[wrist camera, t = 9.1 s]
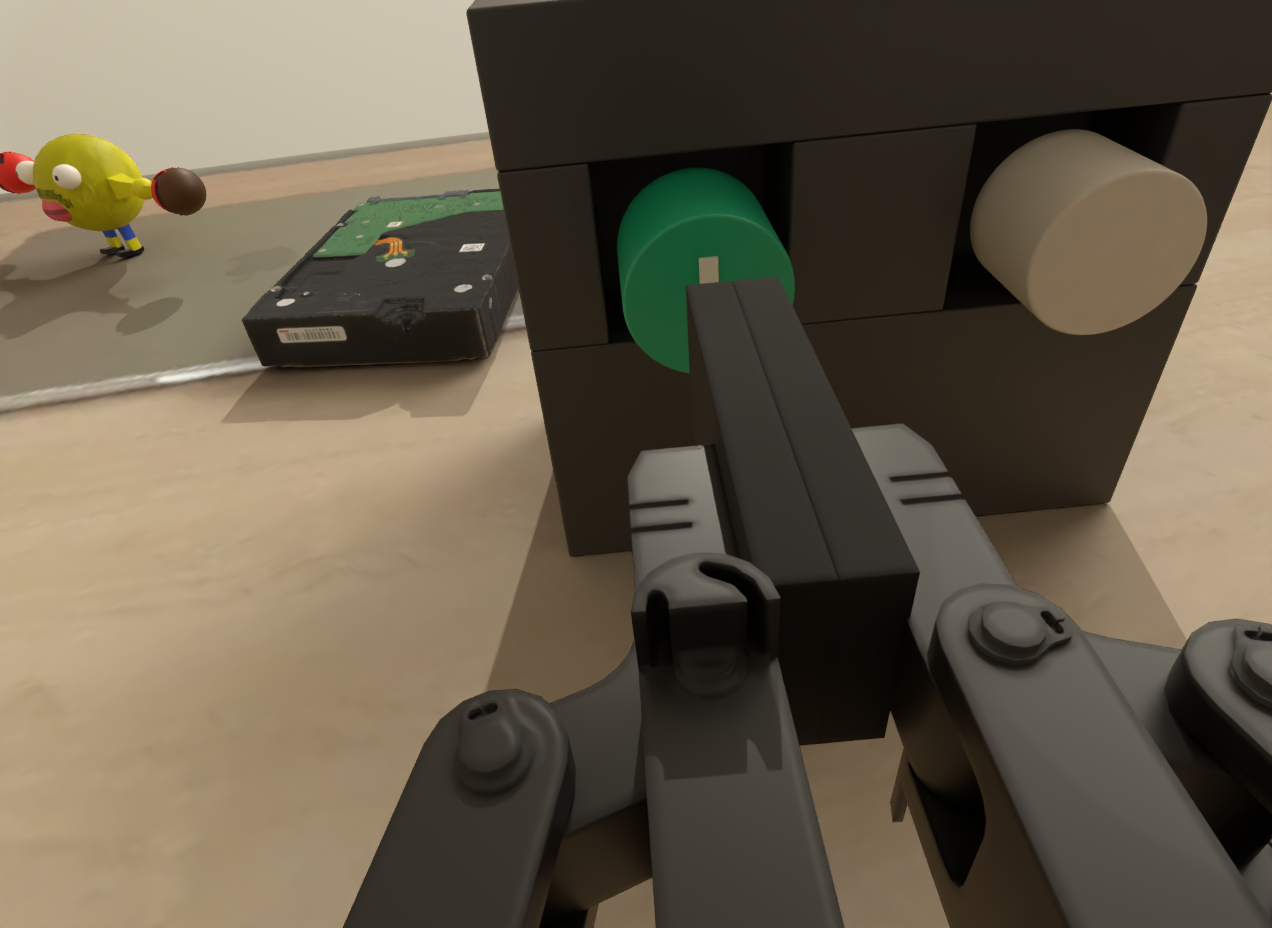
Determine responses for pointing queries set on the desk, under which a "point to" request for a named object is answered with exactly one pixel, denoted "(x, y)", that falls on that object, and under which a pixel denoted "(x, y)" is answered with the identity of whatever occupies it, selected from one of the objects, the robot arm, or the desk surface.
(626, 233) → the key power
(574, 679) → the desk surface
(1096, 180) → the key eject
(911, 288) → the dock
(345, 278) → the disk drive
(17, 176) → the toy figure
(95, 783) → the desk surface
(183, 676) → the desk surface
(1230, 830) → the robot arm
